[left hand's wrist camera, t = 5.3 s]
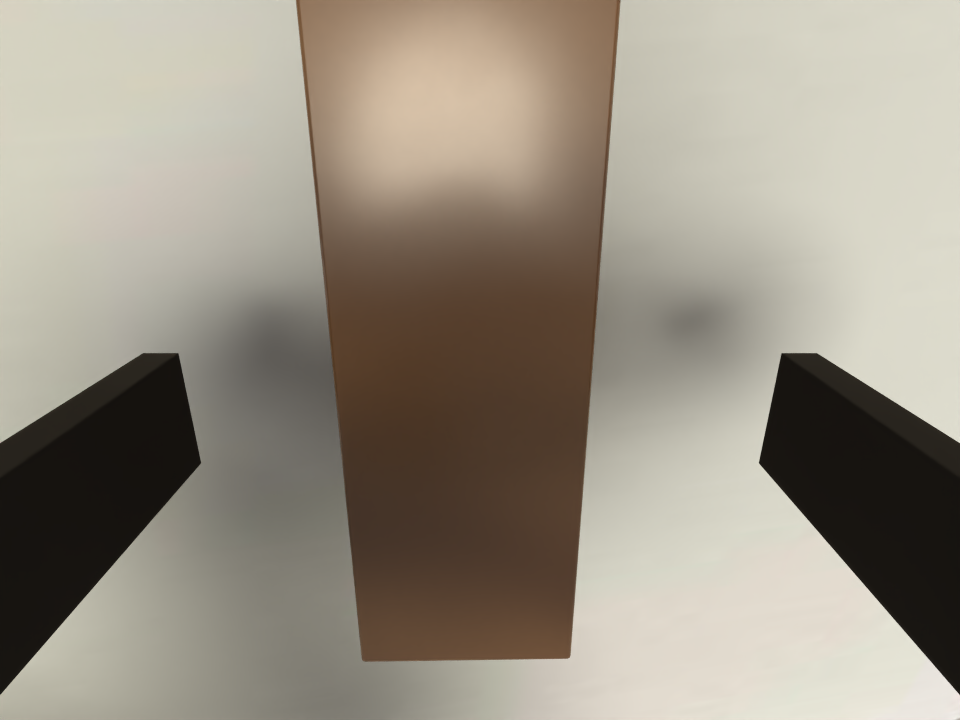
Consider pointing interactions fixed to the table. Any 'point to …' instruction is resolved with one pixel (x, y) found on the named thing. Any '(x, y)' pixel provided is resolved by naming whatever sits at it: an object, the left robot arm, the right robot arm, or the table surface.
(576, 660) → the table surface
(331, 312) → the bar
